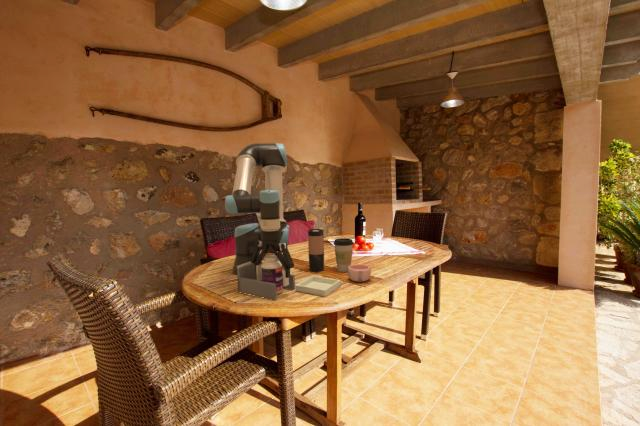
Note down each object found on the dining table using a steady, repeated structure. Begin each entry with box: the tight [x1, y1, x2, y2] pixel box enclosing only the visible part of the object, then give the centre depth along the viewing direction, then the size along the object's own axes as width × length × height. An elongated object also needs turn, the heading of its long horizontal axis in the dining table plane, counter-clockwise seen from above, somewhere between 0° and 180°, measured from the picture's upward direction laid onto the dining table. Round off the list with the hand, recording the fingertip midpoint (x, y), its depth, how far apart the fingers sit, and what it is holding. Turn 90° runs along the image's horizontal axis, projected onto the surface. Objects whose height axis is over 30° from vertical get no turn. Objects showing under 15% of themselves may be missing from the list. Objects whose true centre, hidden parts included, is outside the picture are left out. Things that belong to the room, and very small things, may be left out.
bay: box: [236, 260, 296, 301], centre depth 121 cm, size 18×13×11 cm
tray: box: [294, 275, 342, 298], centre depth 123 cm, size 14×14×2 cm
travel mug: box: [307, 228, 325, 273], centre depth 148 cm, size 8×8×20 cm
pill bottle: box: [262, 254, 284, 295], centre depth 119 cm, size 8×8×14 cm
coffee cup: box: [333, 237, 354, 273], centre depth 148 cm, size 10×10×15 cm
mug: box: [347, 263, 372, 283], centre depth 134 cm, size 12×10×6 cm
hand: (272, 283), depth 120 cm, fingers open, 12 cm apart
